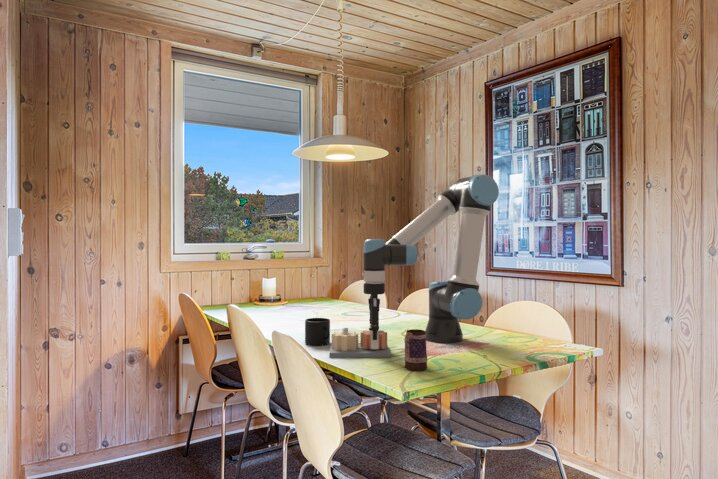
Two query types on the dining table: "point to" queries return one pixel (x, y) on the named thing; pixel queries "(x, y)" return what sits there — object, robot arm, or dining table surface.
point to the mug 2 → (415, 350)
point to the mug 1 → (317, 331)
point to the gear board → (360, 352)
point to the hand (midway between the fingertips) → (374, 345)
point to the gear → (367, 339)
